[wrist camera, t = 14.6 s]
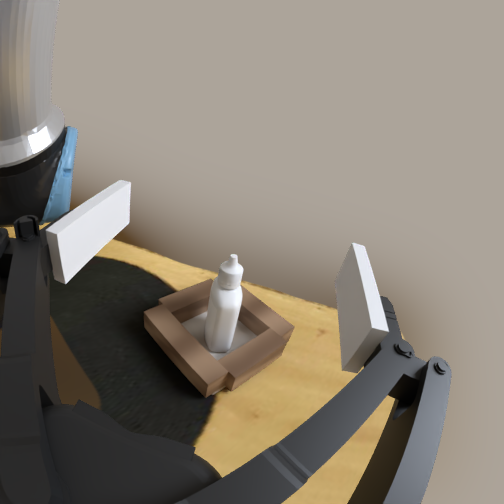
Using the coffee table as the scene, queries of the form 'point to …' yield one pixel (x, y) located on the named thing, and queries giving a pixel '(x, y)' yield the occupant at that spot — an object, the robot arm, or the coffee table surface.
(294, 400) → the coffee table surface
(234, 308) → the eye dropper bottle
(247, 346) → the socket block
